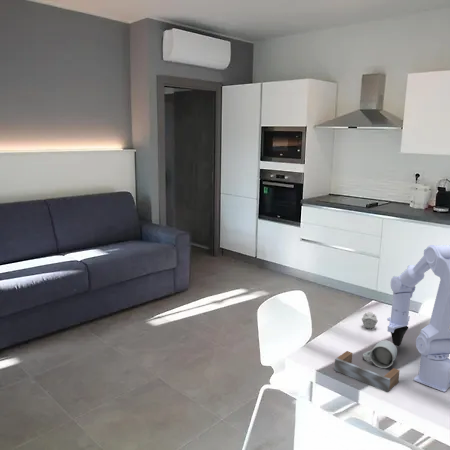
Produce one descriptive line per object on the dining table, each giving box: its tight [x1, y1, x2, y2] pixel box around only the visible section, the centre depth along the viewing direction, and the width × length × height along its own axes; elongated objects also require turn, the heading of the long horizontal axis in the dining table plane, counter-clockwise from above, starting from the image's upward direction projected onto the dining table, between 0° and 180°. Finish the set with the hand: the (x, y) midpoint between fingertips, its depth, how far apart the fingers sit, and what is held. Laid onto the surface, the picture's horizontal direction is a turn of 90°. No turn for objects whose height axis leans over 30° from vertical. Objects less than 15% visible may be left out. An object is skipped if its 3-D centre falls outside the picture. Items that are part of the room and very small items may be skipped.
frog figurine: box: [361, 311, 378, 329], centre depth 177 cm, size 6×7×7 cm
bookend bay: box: [334, 350, 400, 393], centre depth 141 cm, size 18×8×4 cm, turn 47°
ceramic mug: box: [362, 339, 398, 369], centre depth 150 cm, size 11×8×8 cm
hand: (396, 345), depth 158 cm, fingers closed
